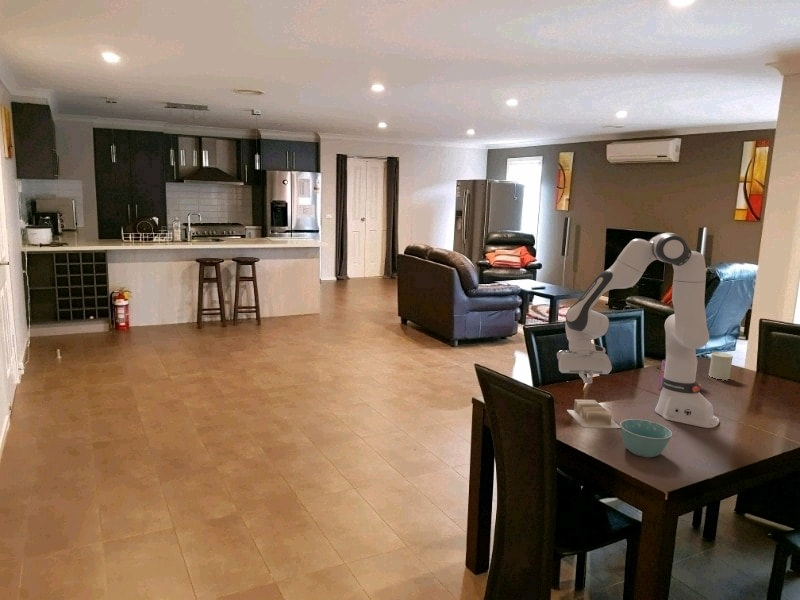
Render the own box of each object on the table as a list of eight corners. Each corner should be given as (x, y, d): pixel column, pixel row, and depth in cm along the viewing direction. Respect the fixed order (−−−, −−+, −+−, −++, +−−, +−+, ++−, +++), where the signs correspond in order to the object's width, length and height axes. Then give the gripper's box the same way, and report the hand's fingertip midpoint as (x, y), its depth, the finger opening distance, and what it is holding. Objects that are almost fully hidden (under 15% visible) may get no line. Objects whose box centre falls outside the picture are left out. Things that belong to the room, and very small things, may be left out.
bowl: (678, 462, 185) (682, 438, 184) (630, 462, 184) (634, 437, 183) (653, 442, 201) (656, 419, 199) (609, 441, 200) (612, 418, 198)
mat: (566, 410, 228) (566, 409, 228) (601, 411, 229) (601, 410, 229) (582, 427, 211) (583, 426, 211) (620, 428, 212) (620, 427, 212)
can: (713, 373, 292) (716, 350, 290) (732, 378, 285) (736, 354, 283) (704, 376, 286) (708, 352, 284) (724, 381, 279) (728, 357, 277)
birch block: (574, 399, 228) (590, 414, 212) (594, 399, 229) (611, 414, 213) (573, 409, 229) (589, 424, 213) (593, 409, 229) (610, 425, 214)
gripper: (558, 346, 230) (564, 377, 222) (609, 348, 231) (616, 379, 224) (553, 354, 235) (559, 385, 227) (603, 356, 237) (610, 386, 229)
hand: (588, 382), depth 225 cm, fingers closed
